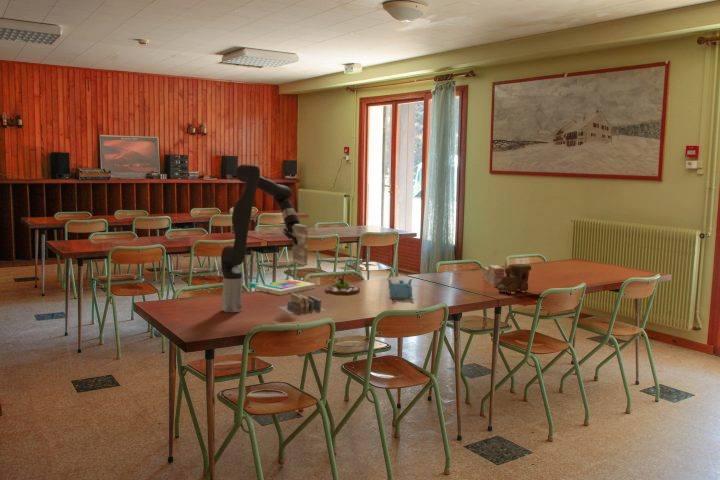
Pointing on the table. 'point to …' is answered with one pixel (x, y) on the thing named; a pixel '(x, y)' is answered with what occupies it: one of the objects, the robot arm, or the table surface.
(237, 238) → the robot arm
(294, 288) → the puzzle game
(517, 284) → the wooden toy train
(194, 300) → the table surface
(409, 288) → the teapot
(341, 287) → the plant
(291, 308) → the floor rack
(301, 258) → the birch panel
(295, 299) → the pine offcuts
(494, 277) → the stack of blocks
